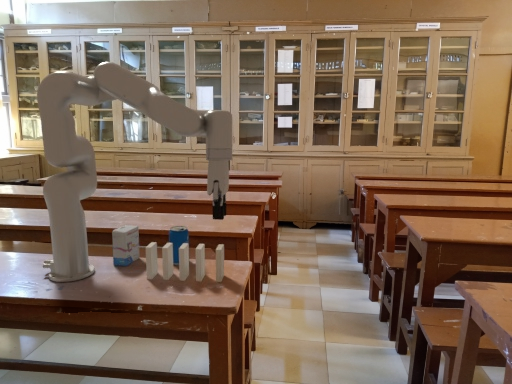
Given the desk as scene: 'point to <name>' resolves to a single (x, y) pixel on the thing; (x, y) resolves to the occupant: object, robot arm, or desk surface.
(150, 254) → the domino
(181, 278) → the domino
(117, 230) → the ink box
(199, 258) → the domino
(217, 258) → the domino
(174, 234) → the beverage can
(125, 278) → the desk surface
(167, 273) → the domino
